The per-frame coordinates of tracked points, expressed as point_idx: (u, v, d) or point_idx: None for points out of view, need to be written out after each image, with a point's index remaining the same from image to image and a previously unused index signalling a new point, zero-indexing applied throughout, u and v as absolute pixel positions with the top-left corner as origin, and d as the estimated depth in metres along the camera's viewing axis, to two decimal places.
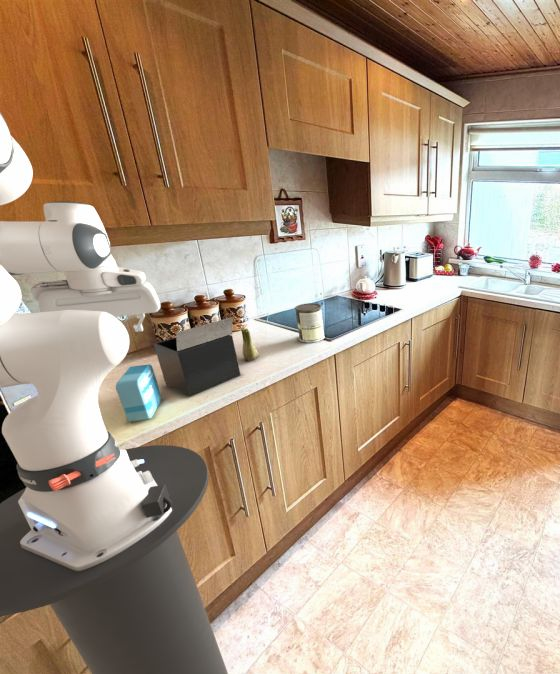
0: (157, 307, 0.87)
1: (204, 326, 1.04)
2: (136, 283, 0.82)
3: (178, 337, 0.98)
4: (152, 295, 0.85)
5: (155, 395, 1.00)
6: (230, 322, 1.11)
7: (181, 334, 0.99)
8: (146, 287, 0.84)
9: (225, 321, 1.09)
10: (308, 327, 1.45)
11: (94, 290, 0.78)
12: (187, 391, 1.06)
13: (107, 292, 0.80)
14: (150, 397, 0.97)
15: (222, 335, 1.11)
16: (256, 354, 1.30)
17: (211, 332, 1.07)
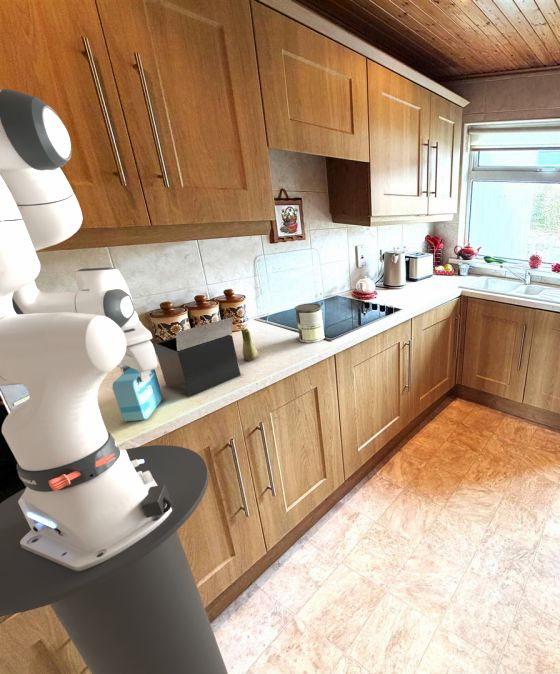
0: (140, 369, 0.88)
1: (204, 326, 1.04)
2: None
3: (178, 337, 0.98)
4: (134, 358, 0.86)
5: (155, 395, 1.00)
6: (230, 322, 1.11)
7: (181, 334, 0.99)
8: (129, 350, 0.86)
9: (225, 321, 1.09)
10: (308, 327, 1.45)
11: None
12: (187, 391, 1.06)
13: None
14: (148, 398, 0.97)
15: (222, 335, 1.11)
16: (256, 354, 1.30)
17: (211, 332, 1.07)
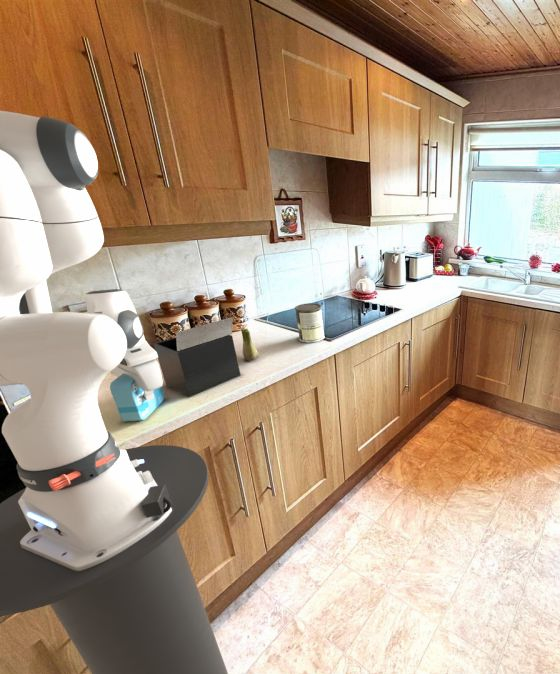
0: (146, 388, 0.90)
1: (204, 326, 1.04)
2: (127, 365, 0.87)
3: (178, 337, 0.98)
4: (140, 378, 0.88)
5: (155, 395, 1.00)
6: (230, 322, 1.11)
7: (181, 334, 0.99)
8: (135, 370, 0.88)
9: (225, 321, 1.09)
10: (308, 327, 1.45)
11: None
12: (187, 391, 1.06)
13: (120, 365, 0.90)
14: None
15: (222, 335, 1.11)
16: (256, 354, 1.30)
17: (211, 332, 1.07)
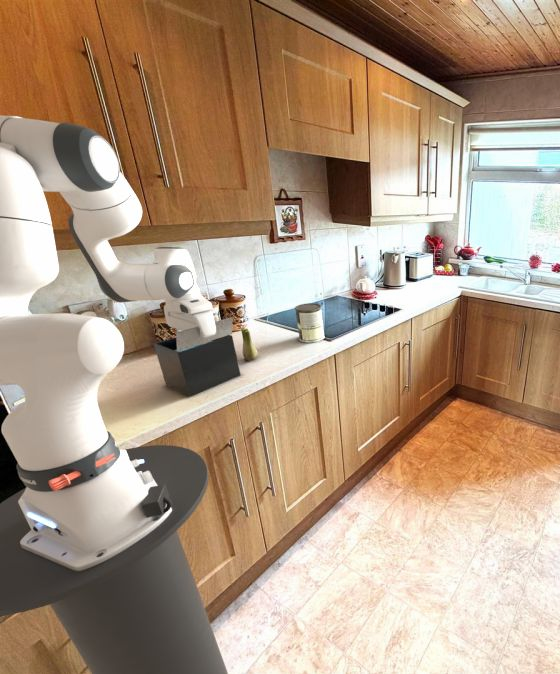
0: (203, 334, 1.03)
1: None
2: (188, 313, 1.00)
3: (178, 337, 0.98)
4: (198, 324, 1.01)
5: None
6: (230, 322, 1.11)
7: (181, 334, 0.99)
8: (195, 317, 1.01)
9: (225, 321, 1.09)
10: (308, 327, 1.45)
11: (174, 311, 1.04)
12: (187, 391, 1.06)
13: (180, 314, 1.04)
14: None
15: (222, 335, 1.11)
16: (256, 354, 1.30)
17: None
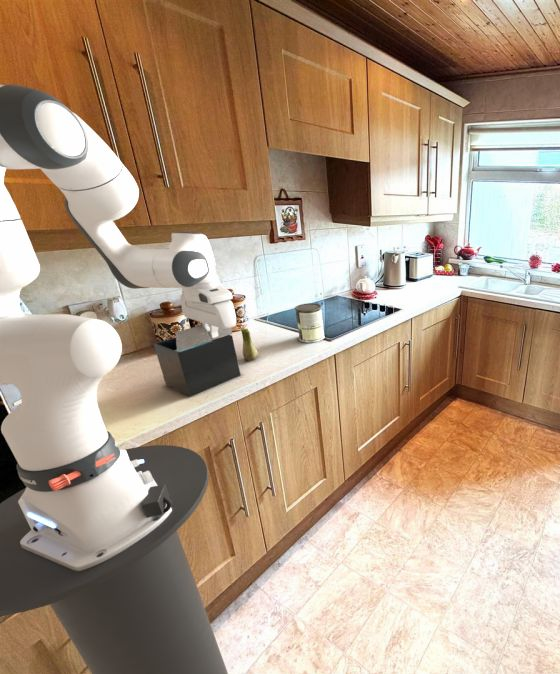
0: (223, 325, 0.97)
1: None
2: (207, 302, 0.94)
3: (178, 336, 0.98)
4: (218, 315, 0.95)
5: None
6: None
7: (181, 334, 0.99)
8: (215, 307, 0.95)
9: None
10: (308, 327, 1.45)
11: (192, 301, 0.97)
12: (187, 391, 1.06)
13: (199, 304, 0.97)
14: None
15: (222, 334, 1.11)
16: (256, 354, 1.30)
17: None
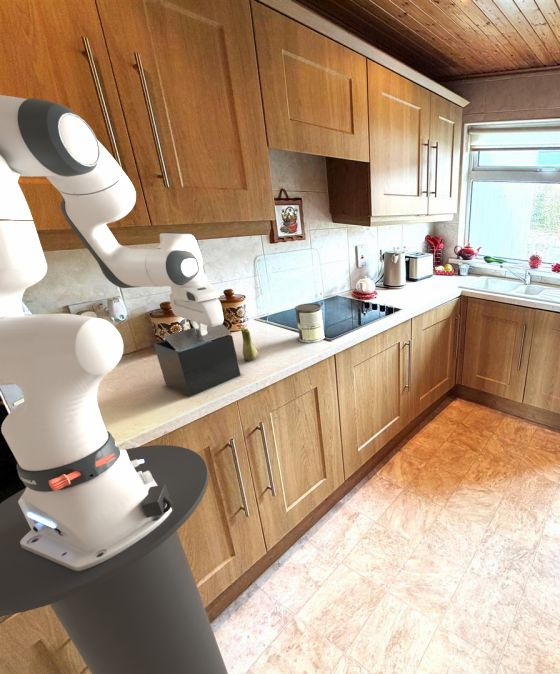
0: (210, 323, 0.99)
1: (191, 329, 1.07)
2: (195, 300, 0.97)
3: (168, 338, 1.01)
4: (206, 313, 0.98)
5: None
6: None
7: (170, 336, 1.02)
8: (202, 305, 0.97)
9: None
10: (308, 327, 1.45)
11: (180, 299, 1.00)
12: (187, 391, 1.06)
13: (187, 302, 1.00)
14: None
15: (220, 334, 1.11)
16: (256, 354, 1.30)
17: None
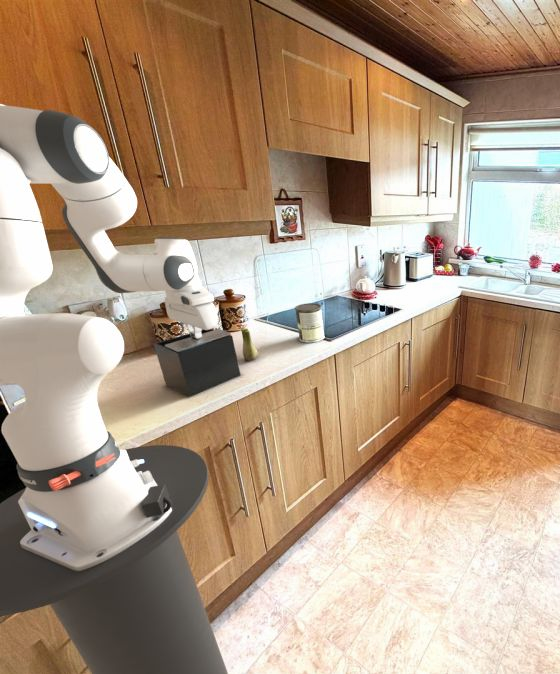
0: (204, 326, 1.01)
1: (192, 337, 1.09)
2: (189, 304, 0.99)
3: (168, 345, 1.03)
4: (200, 316, 1.00)
5: None
6: (220, 330, 1.15)
7: (171, 344, 1.04)
8: (196, 309, 0.99)
9: (213, 331, 1.14)
10: (308, 327, 1.45)
11: (175, 303, 1.02)
12: (187, 391, 1.06)
13: (182, 306, 1.02)
14: None
15: (220, 335, 1.11)
16: (256, 354, 1.30)
17: (204, 337, 1.09)
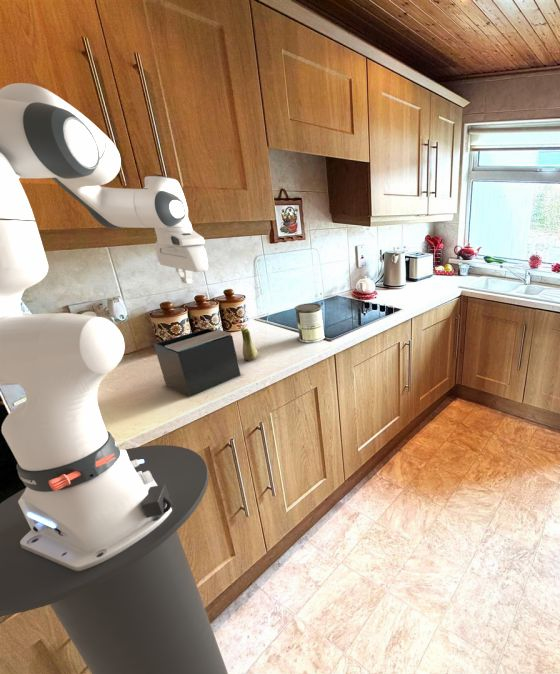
0: (195, 268, 1.01)
1: (192, 338, 1.09)
2: (179, 244, 0.98)
3: (168, 346, 1.03)
4: (190, 257, 1.00)
5: None
6: (220, 331, 1.15)
7: (171, 345, 1.04)
8: (186, 249, 0.99)
9: (213, 332, 1.14)
10: (308, 327, 1.45)
11: (165, 245, 1.02)
12: (187, 391, 1.06)
13: (172, 248, 1.02)
14: None
15: (220, 335, 1.11)
16: (256, 354, 1.30)
17: (204, 337, 1.10)
